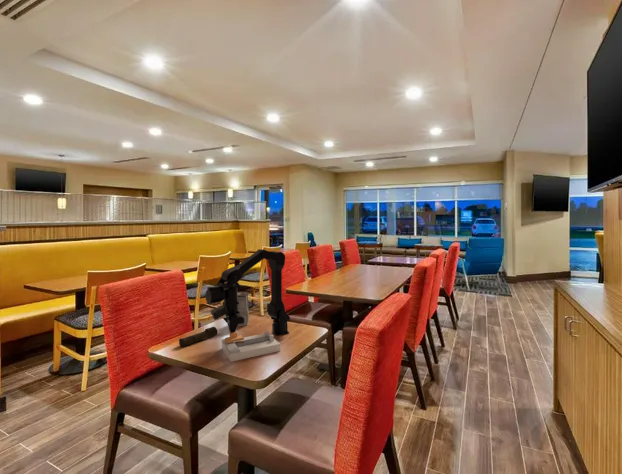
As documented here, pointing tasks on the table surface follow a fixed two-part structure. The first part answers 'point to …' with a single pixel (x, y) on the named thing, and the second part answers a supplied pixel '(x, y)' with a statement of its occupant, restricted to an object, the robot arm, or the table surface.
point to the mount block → (250, 348)
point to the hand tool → (198, 336)
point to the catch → (234, 337)
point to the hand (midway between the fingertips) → (232, 334)
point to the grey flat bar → (252, 341)
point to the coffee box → (243, 307)
